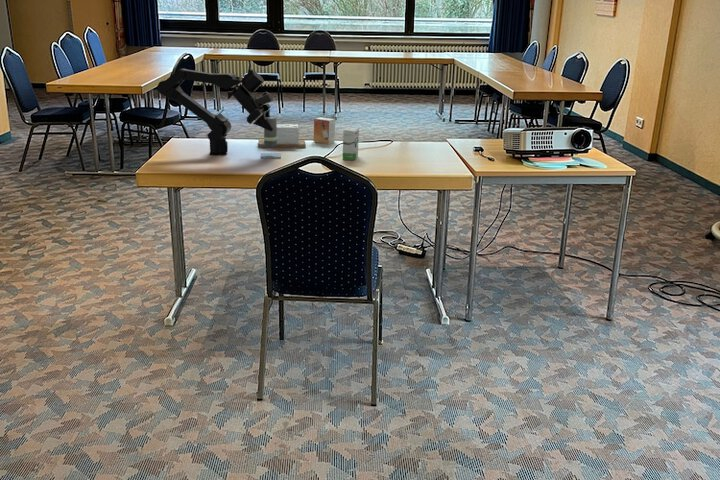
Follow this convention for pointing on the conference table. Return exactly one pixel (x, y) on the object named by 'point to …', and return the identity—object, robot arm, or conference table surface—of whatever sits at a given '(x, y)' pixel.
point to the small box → (324, 130)
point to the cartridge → (271, 133)
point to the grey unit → (286, 137)
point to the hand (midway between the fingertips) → (273, 129)
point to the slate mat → (270, 155)
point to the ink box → (350, 143)
